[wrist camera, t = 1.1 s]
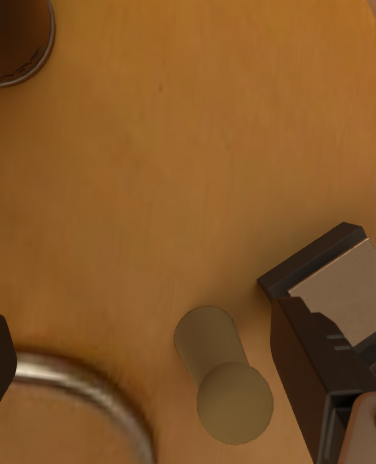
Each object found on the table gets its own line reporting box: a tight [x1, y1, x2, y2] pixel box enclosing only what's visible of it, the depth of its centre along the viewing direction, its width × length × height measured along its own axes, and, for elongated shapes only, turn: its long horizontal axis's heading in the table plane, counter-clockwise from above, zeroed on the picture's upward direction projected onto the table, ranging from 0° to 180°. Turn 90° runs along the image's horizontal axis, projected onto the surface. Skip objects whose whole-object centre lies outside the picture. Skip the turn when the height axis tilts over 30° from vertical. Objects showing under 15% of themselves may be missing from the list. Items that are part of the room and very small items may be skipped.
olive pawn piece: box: [174, 307, 273, 445], centre depth 27 cm, size 6×6×11 cm
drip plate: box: [287, 237, 376, 347], centre depth 28 cm, size 8×8×1 cm
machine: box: [257, 222, 376, 378], centre depth 32 cm, size 18×10×4 cm, turn 32°
